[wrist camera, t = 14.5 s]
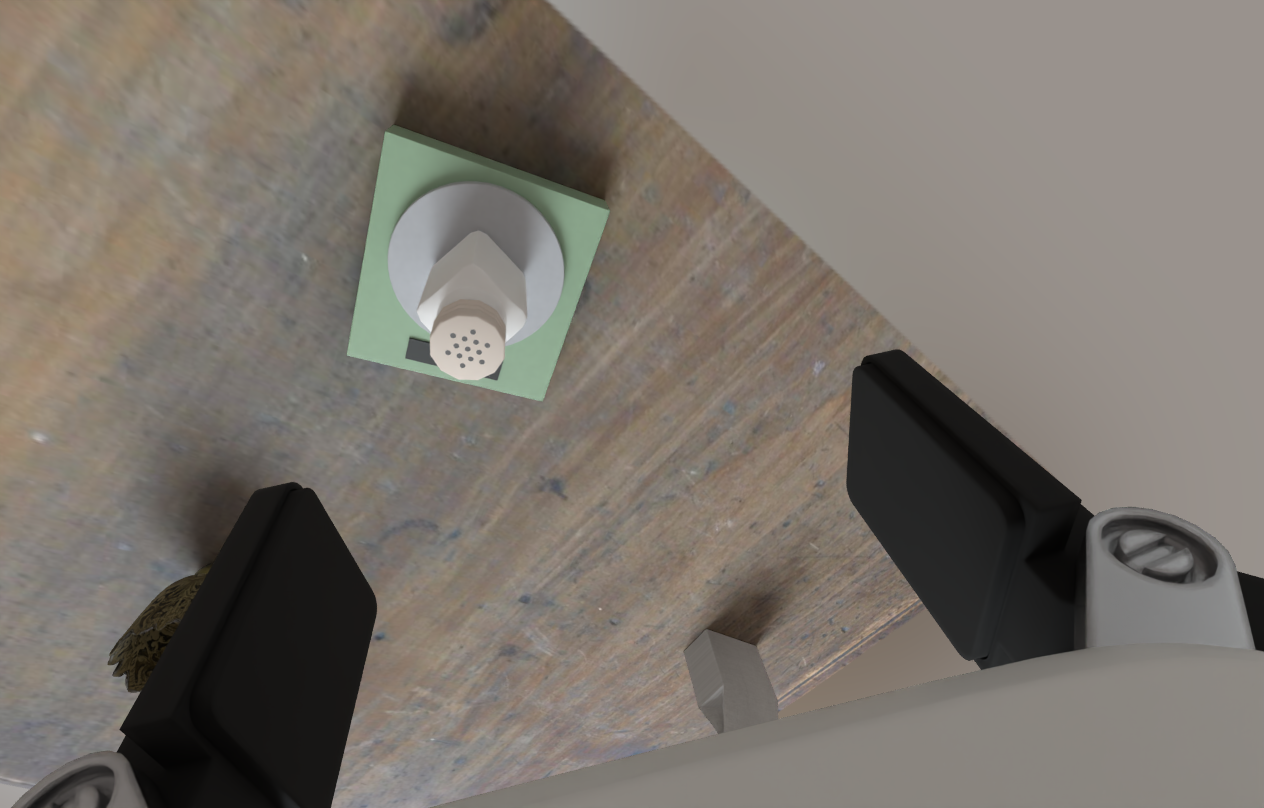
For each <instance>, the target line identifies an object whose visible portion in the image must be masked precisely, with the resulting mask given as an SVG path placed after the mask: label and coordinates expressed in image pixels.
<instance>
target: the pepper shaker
mask: <svg viewBox="0 0 1264 808" xmlns="http://www.w3.org/2000/svg"><path fill="white" fill-rule="evenodd" d="M417 313H418V316H419V318H420V321H421V322H422V323H423V324H424V325H425V326H426V327H427V328H428V329H429V331H430V332H431V334H430V356H431V357H432V358H433V360H434V361H435V363H436V364H437V366H438V367H439V368H440V370H441V371H443V372H445V373H447V374H449V375H450V376H452V377H454V378H456V379H458V380H479V379H481V378H484V377H486V376H488V375H490V374H493V373H495V371H496V370H497V369H498V367H499V366H500V364H501V363H502V362H503V360H504V359H505V343H506V342H507V341H508V340H509V339H510V338H512V337H513V336H514V335H515V334H516V333H517V332H518V331H519V330H520V329H521V328H522V327H523V326H524V324H525V322H526V319H527V296H526V280H525V277H524V274H523V272H522V271H521V270H520V269H519V268H518V267H517V266H516V265H515V264H514V263H513V262H512V261H511V260H510V258H509V257H508V256H507V255H506V254H505V253H504V252H503V251H502V250H501V249H500V248H499V247H498V246H497V245H496V244H495V242H494V241H493V240H492V239H491V238H490V237H489V236H488V235H487V234H485V233H483V232H481V231H479V230H478V231H475V232H472V233H470V234H469V235H468V236H466V237H465V238H464V239H463V240H462V241H461V242H460V243H458V244H457V245H456V246H455V247H454V248H453V249H452V250H450V251H449V252H448V253H447V254H446V255H445V256H444V257H442V258H441V259H440V260H439V261H438V262H437V263H436V264H434V265H433V266H432V269H431V271H430V273H429V276H428V279H427V282H426V285H425V288H424V291H423V293H422V296H421V299H420V302H419V305H418V308H417Z"/></svg>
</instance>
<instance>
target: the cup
mask: <svg viewBox="0 0 1264 808" xmlns="http://www.w3.org/2000/svg"><path fill="white" fill-rule="evenodd" d="M212 565H213V563H212V564H209V565H206V566H205V567H203V568H201V569H200V570H199V571H197V572H196V573H195V575H192V576H188V577H185V578H183V579H180V580H178V581H176V582H174V583H173V584H171V585H170V586H168V587H167V588H166V589H164V590H163V591H162V592H161V593H160V594H159V595H158V596H157V597H156V598H155V599H154V600H153V601H152V602H151V603H150V604H149V605H148V606H147V607H146V609H145V610H144V611H143V612H142V613H141V614H140V616H139V617H138V618H137V619H136V620H135V622H134V623H133V624H132V625H131V626H130V628H129V629H128V630H127V631H126V633H125V634H124V635H123V636H122V637H121V638H120V639H119V641H118V642H117V643H116V645H115V646H114V648H113V649H112V651H111V652H110V655H109V656H110V659H109V661H108V665H114V664H116V663H118V662H119V663H118V665H117V667H116V669H115V670H114V672H113V675H112V676H114V677H120V676H122V675H124V674H125V675H126V680H125V684H126V688H127V690H128V692H131V693H137V692H141V691H142V689H143V687H144V685H145V684H146V682H147V680H148V678H149V676H150V675H151V673H152V671H153V669H154V668H155V666H156V664H157V662H158V661H159V659H160V657H161V655H162V653H163V652H164V650H165V648H166V646H167V645H168V643H169V641H170V639H171V637H172V636H173V634H174V632H175V630H176V629H177V627H178V625H179V623H180V622H181V620H182V618H183V616H184V614H185V613H186V611H187V609H188V607H189V606H190V604H191V602H192V600H193V599H194V597H195V595H196V593H197V591H198V590H199V588H200V586H201V584H202V583H203V581H204V579H205V577H206V575H207V574H208V572H209V570H210V568H211V567H212ZM123 673H124V674H123Z"/></svg>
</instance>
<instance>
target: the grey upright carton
mask: <svg viewBox="0 0 1264 808" xmlns="http://www.w3.org/2000/svg"><path fill="white" fill-rule="evenodd" d="M684 655H685V658H686V662H687V666H688V670H689V673H690V677H691V681H692V684H693V688H694V692H695V696H696V699H697V703H698V707H699V709H700V710H701V711H702V712H703V714H704V715H705V716H706V718H707V719H708V720H709V721H710V723H711V724H712V725H713V727H714V728H715V730H716V731H717V733H718V734H721V733H725V732H729V731H733V730H737V729H741V728H745V727H749V726H753V725H757V724H761V723H765V722H769V721H773V720H777V719H778V700H777V698H776V695H775V693H774V690H773V687H772V685H771V682H770V680H769V677H768V675H767V672H766V669H765V667H764V664H763V662H762V659H761V657H760V654H759V652H758V649H757V646H755V645H752V644H749V643H746V642H743V641H740V640H737V639H734V638H731V637H728V636H725V635H723V634H720V633H717V632H714V631H711V630H708V629H706V630H705V631H704V632H703V633H702V634H701V635H700V636H699V637H698V638H697V639H696V640H695V641H694V642H693V643H692V644H691V645H690V646H689V647H688V648H687V649H686V650H685V651H684Z"/></svg>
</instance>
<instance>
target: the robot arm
mask: <svg viewBox="0 0 1264 808" xmlns="http://www.w3.org/2000/svg"><path fill="white" fill-rule="evenodd" d="M846 484H847V491H848V495H849V497H850V500H851V502H852V503H853V505H854V506H855V508H856V509H857V511H858V512H859V513H860V515H861V516H862V518H863V519H864V520H865V522H866V523H867V525H868V526H869V528H870V529H871V530H872V532H873V533H874V535H875V536H876V537H877V539H878V540H879V542H880V543H881V544H882V546H883V547H884V549H885V550H886V552H887V553H888V554H889V556H890V557H891V559H892V560H893V561H894V563H895V564H896V566H897V567H898V568H899V570H900V571H901V573H902V574H903V575H904V577H905V578H906V580H907V581H908V583H909V584H910V585H911V587H912V588H913V590H914V591H915V592H916V594H917V595H918V597H919V598H920V599H921V601H922V602H923V604H924V605H925V607H926V608H927V609H928V611H929V612H930V614H931V615H932V616H933V618H934V619H935V621H936V622H937V623H938V625H939V626H940V627H941V629H942V630H943V632H944V633H945V635H946V636H947V638H948V639H949V640H950V642H951V643H952V645H953V646H954V647H955V649H956V650H957V652H958V653H959V654H960V655H961V656H962V657H963V658H964V659H966V660H968V661H970V660H974V661H975V662H976V663H977V665H978V666H979V667H980V669H981V670H980V671H975V672H971V673H966V674H962V675H958V676H954V677H949V678H944V679H941V680H936V681H931V682H927V683H923V684H919V685H915V686H911V687H907V688H903V689H899V690H895V691H891V692H887V693H882V694H878V695H874V696H870V697H866V698H862V699H858V700H854V701H850V702H846V703H842V704H838V705H834V706H830V707H826V708H821V709H818V710H813V711H809V712H805V713H801V714H797V715H793V716H789V717H785V718H781V719H777V720H773V721H769V722H765V723H761V724H757V725H753V726H749V727H745V728H741V729H737V730H733V731H729V732H725V733H721V734H717V735H713V736H709V737H705V738H701V739H697V740H693V741H689V742H685V743H681V744H677V745H673V746H669V747H665V748H661V749H657V750H653V751H649V752H645V753H641V754H637V755H633V756H629V757H626V758H622V759H618V760H614V761H610V762H606V763H602V764H598V765H594V766H590V767H586V768H582V769H578V770H574V771H570V772H566V773H562V774H558V775H555V776H551V777H547V778H543V779H539V780H535V781H531V782H527V783H523V784H519V785H515V786H511V787H508V788H504V789H500V790H496V791H492V792H488V793H484V794H480V795H477V796H473V797H469V798H465V799H461V800H457V801H453V802H449V803H446V804H442V805H438V806H434V807H430V808H1264V579H1263V578H1259V577H1256V576H1252V575H1249V574H1245V573H1241V572H1238V571H1237V570H1236V566H1235V564H1234V561H1233V560H1232V557H1231V555H1230V554H1229V552H1228V550H1227V549H1225V547H1224V546H1223V545H1222V544H1221V543H1220V542H1219V541H1218V540H1217V539H1216V538H1215V537H1213V536H1212V535H1210V534H1209V533H1207V532H1205V531H1204V530H1203V529H1201V528H1200V527H1198V526H1196V525H1194V524H1192V523H1190V522H1188V521H1186V520H1183V519H1181V518H1179V517H1177V516H1174V515H1171V514H1167V513H1163V512H1160V511H1157V510H1153V509H1145V508H1137V507H1120V508H1111V509H1109V510H1105V511H1102V512H1099V513H1098V514H1097V515H1095V516H1094V515H1093V514H1092V513H1091V512H1089V511H1088V510H1087V509H1086V508H1085V507H1084V506H1082V505H1081V499H1080V498H1079V497H1077V496H1076V495H1075V494H1074V493H1073V492H1071V491H1070V490H1069V489H1068V488H1067V487H1065V486H1064V485H1063V484H1062V483H1061V482H1059V481H1058V480H1057V479H1056V478H1055V477H1053V476H1052V475H1051V474H1050V473H1049V472H1047V471H1046V470H1045V469H1044V468H1043V467H1041V466H1040V465H1039V464H1038V463H1037V462H1035V461H1034V460H1033V459H1032V458H1031V457H1029V456H1028V455H1027V454H1026V453H1025V452H1023V451H1022V450H1021V449H1020V448H1019V447H1017V446H1016V445H1015V444H1014V443H1013V442H1011V441H1010V440H1009V439H1008V438H1007V437H1005V436H1004V435H1003V434H1002V433H1001V432H999V431H998V430H997V429H996V428H995V427H993V426H992V425H991V424H990V423H989V422H987V421H986V420H985V419H984V418H983V417H981V416H980V415H979V414H978V413H977V412H975V411H974V410H973V409H972V408H971V407H969V406H968V405H967V404H966V403H965V402H963V401H962V400H961V399H960V398H959V397H957V396H956V395H955V394H954V393H953V392H951V391H950V390H949V389H948V388H947V387H945V386H944V385H943V384H942V383H941V382H939V381H938V380H937V379H936V378H935V377H933V376H932V375H931V374H930V373H929V372H927V371H926V370H925V369H924V368H923V367H921V366H920V365H919V364H918V363H917V362H915V361H914V360H913V359H912V358H911V357H909V356H908V355H907V354H906V353H905V352H903V351H901V350H891V351H887V352H882V353H878V354H873V355H868V356H866V357H864V358H863V360H862V363H861V366H857V367H856V368H855V369H854V371H853V377H852V394H851V412H850V429H849V446H848V463H847V481H846ZM376 614H377V603H376V598H375V595H374V593H373V591H372V589H371V587H370V586H369V584H368V582H367V580H366V579H365V577H364V575H363V574H362V572H361V570H360V569H359V567H358V565H357V563H356V562H355V560H354V558H353V557H352V555H351V553H350V551H349V550H348V548H347V546H346V545H345V543H344V541H343V540H342V538H341V536H340V534H339V533H338V531H337V529H336V528H335V526H334V524H333V522H332V521H331V519H330V517H329V516H328V514H327V512H326V511H325V509H324V507H323V505H322V504H321V502H320V500H319V499H318V497H317V495H316V494H315V492H314V491H313V490H312V489H310V488H304V489H303V488H302V486H301V485H299V484H298V483H295V482H290V483H286V484H281V485H277V486H272V487H268V488H263V489H259V490H257V491H255V492H254V493H253V494H252V496H251V497H250V499H249V501H248V503H247V505H246V506H245V508H244V510H243V512H242V513H241V515H240V517H239V519H238V521H237V522H236V524H235V526H234V528H233V529H232V531H231V533H230V535H229V536H228V538H227V540H226V542H225V544H224V545H223V547H222V549H221V551H220V552H219V554H218V556H217V558H216V560H215V561H214V563H213V565H212V567H211V568H210V570H209V572H208V574H207V575H206V577H205V579H204V581H203V583H202V584H201V586H200V588H199V590H198V591H197V593H196V595H195V597H194V599H193V600H192V602H191V604H190V606H189V607H188V609H187V611H186V613H185V614H184V616H183V618H182V620H181V622H180V623H179V625H178V627H177V629H176V630H175V632H174V634H173V636H172V637H171V639H170V641H169V643H168V645H167V646H166V648H165V650H164V652H163V653H162V655H161V657H160V659H159V661H158V662H157V664H156V666H155V668H154V669H153V671H152V673H151V675H150V676H149V678H148V680H147V682H146V684H145V685H144V687H143V689H142V691H141V692H140V694H139V696H138V698H137V700H136V701H135V703H134V705H133V707H132V708H131V710H130V712H129V714H128V715H127V717H126V719H125V721H124V723H123V724H122V726H121V728H120V730H121V731H122V732H123V733H124V734H125V735H126V736H125V738H124V740H123V742H122V744H121V745H120V747H119V749H118V751H117V752H112V751H102V752H96V753H90V754H87V755H85V756H83V757H80V758H78V759H75V760H73V761H71V762H68V763H67V764H65V765H63V766H62V767H60V768H59V769H57V770H55V771H54V772H52V773H50V774H49V775H47V776H46V777H45V778H43V779H42V780H41V781H40V782H38V783H37V784H36V785H35V786H33V787H32V788H31V789H30V790H29V791H27V792H26V793H25V794H24V795H23V796H22V797H21V798H20V799H19V800H18V801H17V802H16V803H15V804H14V805H13V806H12V807H11V808H331V805H332V800H333V796H334V792H335V788H336V783H337V779H338V775H339V771H340V767H341V762H342V758H343V754H344V750H345V745H346V741H347V737H348V733H349V729H350V724H351V720H352V716H353V712H354V707H355V703H356V699H357V695H358V691H359V686H360V682H361V678H362V674H363V669H364V665H365V661H366V657H367V653H368V648H369V644H370V640H371V636H372V631H373V627H374V623H375V619H376Z"/></svg>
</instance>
